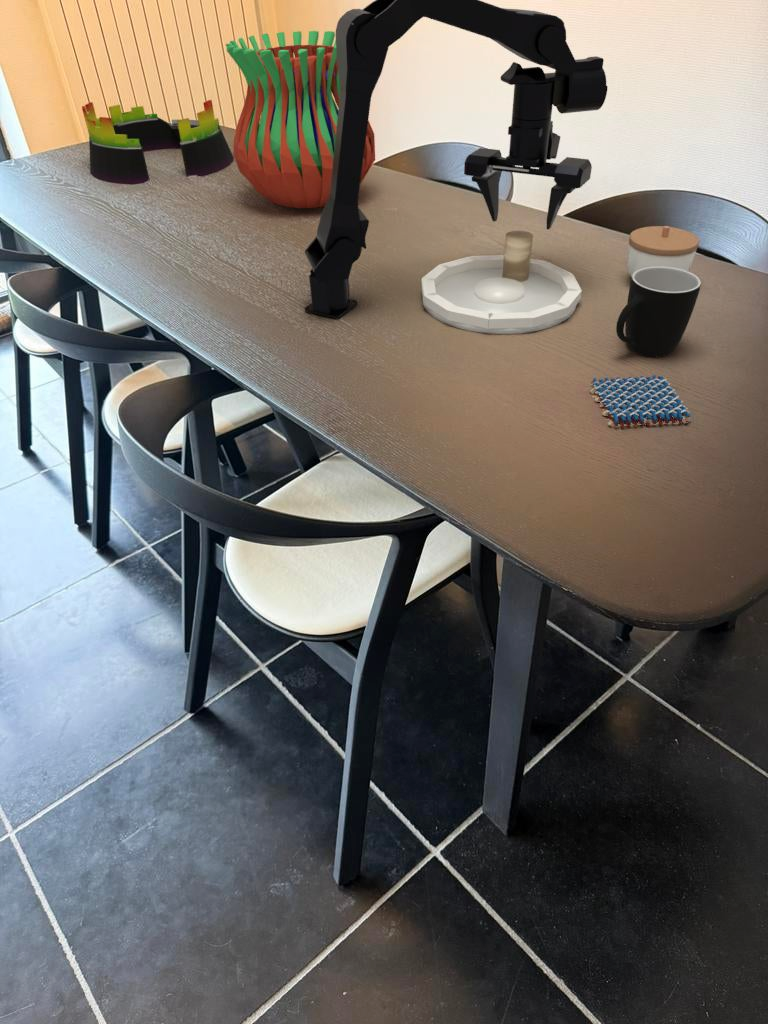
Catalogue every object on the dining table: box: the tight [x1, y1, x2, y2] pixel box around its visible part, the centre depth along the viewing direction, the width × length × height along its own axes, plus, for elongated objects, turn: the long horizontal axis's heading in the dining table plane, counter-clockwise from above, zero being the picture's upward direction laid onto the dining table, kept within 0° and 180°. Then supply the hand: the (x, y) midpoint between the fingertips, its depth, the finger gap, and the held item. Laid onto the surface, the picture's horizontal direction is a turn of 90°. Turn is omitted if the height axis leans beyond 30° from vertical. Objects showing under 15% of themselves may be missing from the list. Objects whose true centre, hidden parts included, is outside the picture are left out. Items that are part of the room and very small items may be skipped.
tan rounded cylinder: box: [502, 230, 534, 282], centre depth 118 cm, size 4×4×7 cm
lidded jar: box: [626, 225, 700, 278], centre depth 116 cm, size 11×11×9 cm
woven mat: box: [587, 374, 691, 428], centre depth 90 cm, size 10×11×2 cm
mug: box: [615, 266, 702, 358], centre depth 98 cm, size 12×9×10 cm
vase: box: [225, 30, 376, 209], centre depth 149 cm, size 30×30×30 cm
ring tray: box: [420, 254, 583, 335], centre depth 115 cm, size 25×25×2 cm
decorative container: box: [81, 99, 235, 186], centre depth 180 cm, size 37×37×15 cm
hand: (521, 224), depth 114 cm, fingers open, 9 cm apart
